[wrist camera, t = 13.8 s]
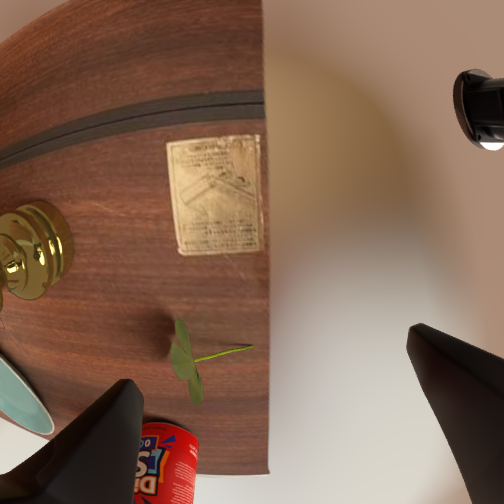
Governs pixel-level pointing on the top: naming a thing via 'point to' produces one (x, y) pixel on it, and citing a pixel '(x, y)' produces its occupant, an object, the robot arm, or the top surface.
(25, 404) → the plate
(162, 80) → the top surface
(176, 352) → the green clover leaf
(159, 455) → the soda can
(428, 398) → the robot arm
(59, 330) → the top surface
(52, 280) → the brass weight
